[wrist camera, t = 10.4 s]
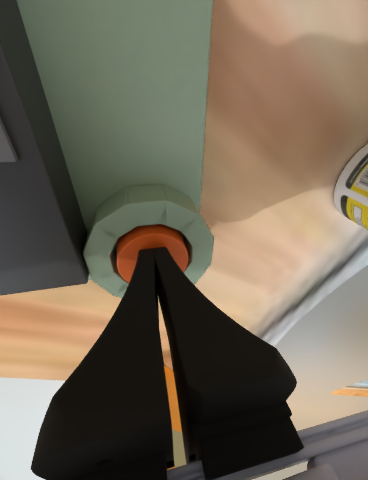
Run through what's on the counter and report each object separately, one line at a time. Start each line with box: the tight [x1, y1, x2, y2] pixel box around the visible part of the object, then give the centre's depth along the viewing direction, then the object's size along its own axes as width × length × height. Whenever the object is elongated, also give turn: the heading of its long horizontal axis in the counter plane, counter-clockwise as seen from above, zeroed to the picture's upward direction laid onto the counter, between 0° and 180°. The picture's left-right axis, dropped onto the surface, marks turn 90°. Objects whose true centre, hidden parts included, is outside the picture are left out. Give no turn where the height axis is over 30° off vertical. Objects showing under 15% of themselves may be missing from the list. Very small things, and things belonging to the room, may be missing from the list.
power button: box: [117, 224, 188, 283], centre depth 12 cm, size 4×4×2 cm
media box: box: [17, 0, 214, 299], centre depth 9 cm, size 16×14×4 cm
